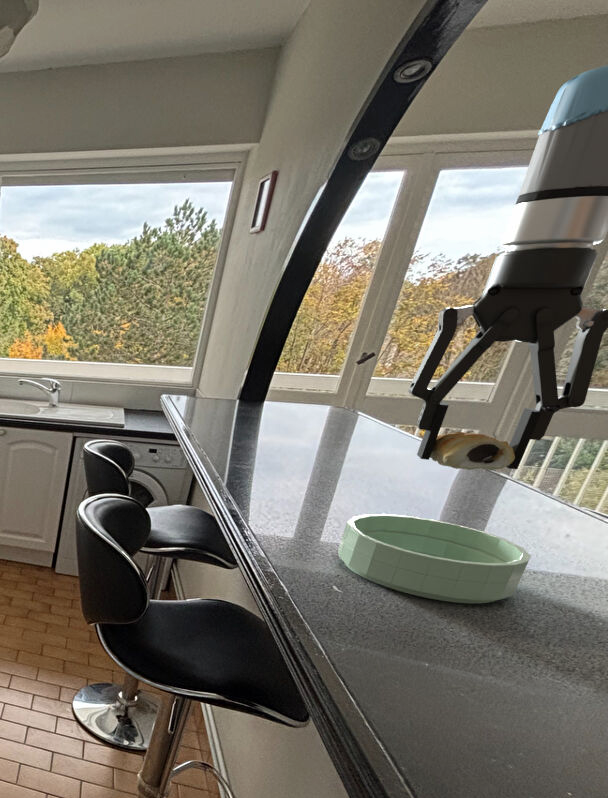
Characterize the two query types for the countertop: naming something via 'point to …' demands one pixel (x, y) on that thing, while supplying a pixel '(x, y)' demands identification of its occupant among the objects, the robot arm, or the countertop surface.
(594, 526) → the countertop surface
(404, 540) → the bowl
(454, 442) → the pastry
